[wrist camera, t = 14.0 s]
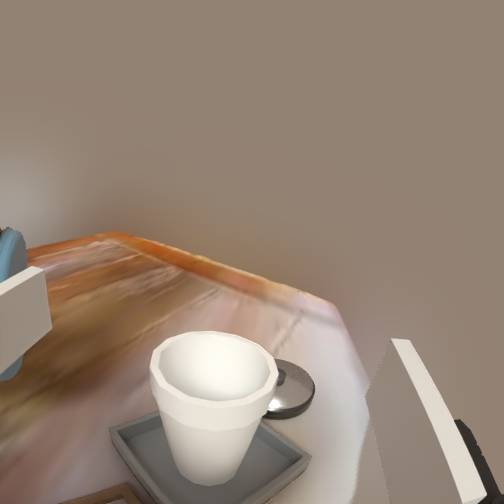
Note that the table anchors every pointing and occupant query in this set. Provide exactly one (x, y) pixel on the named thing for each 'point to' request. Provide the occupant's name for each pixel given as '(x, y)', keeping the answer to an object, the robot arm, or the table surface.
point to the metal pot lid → (290, 392)
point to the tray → (200, 496)
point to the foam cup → (211, 400)
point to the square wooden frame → (107, 496)
